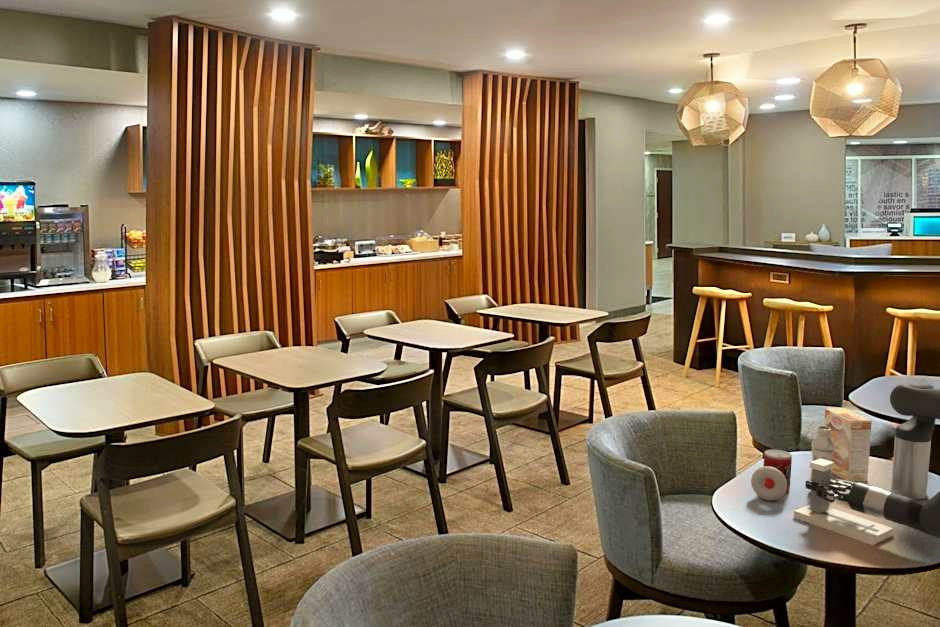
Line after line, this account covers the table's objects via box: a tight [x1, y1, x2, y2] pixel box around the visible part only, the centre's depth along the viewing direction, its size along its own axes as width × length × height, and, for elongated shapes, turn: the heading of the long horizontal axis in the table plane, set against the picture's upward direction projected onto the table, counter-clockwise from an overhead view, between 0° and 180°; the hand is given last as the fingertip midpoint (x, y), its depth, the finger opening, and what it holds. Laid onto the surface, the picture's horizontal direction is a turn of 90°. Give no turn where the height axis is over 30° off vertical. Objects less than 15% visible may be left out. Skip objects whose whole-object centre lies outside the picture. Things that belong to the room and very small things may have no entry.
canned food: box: [763, 449, 793, 493], centre depth 244 cm, size 8×8×11 cm
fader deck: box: [793, 504, 894, 546], centre depth 216 cm, size 10×22×2 cm, turn 36°
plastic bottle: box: [809, 425, 835, 481], centre depth 239 cm, size 6×7×20 cm
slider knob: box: [809, 458, 834, 513], centre depth 221 cm, size 5×4×14 cm
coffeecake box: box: [823, 407, 873, 482], centre depth 256 cm, size 15×7×20 cm, turn 6°
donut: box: [750, 465, 787, 501], centre depth 235 cm, size 10×4×10 cm, turn 57°
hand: (811, 482), depth 223 cm, fingers closed on slider knob, 4 cm apart
